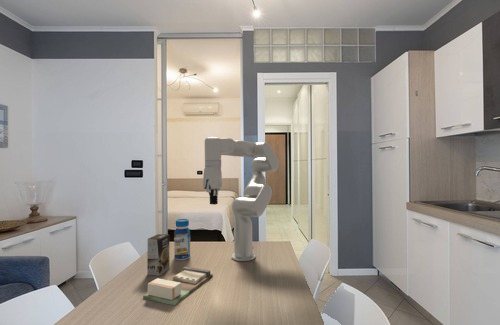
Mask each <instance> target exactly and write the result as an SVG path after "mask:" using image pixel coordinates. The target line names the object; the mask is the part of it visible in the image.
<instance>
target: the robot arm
mask: <svg viewBox="0 0 500 325" xmlns="http://www.w3.org/2000/svg"><path fill="white" fill-rule="evenodd" d="M222 156H230V157H239V158H240V157H242V158H253V159H252V161H251V173H252V177H251V179H250V180H249V181H248V183H247V185H246V186H245V188H244V190H243V195H242V196H240V197H236V198H235V199H234V200H233V201H232V206H231V208H232V210H231V211H232V214H233V226H234V227H233V228H234V229H233V230H234V231H233V234H234V235H233V236H234V237H233V238H234V241H233V243H234V244H233V247H234V251H233V253H232V254H231V259H232V260H233V261H237V262H248V261H249V262H250V261H253V260H254V259H256V253H254V252H253V249H254V248H255V247H254V245H253V222H252V220H251V218H259V217H261V216H262V215H263V214H264V213H265V210H267V207H268V205H269V204H270V201H271V200H272V196H273V189H272V187H271V185H270V184H267V179H266V177H265V176H264V173H273V172H277V171H278V170H279V167H280V161H279V159H278V157H277V155H276V153H275V150H274V149H273V147H272V146H271V144H270V143H268V142H266V141H263V142H252V141H247V140H234V139H232V138H231V137H221V138H220V137H216V136H214V137H213V136H211V137H210V136H209V137H206V138H205V139H204V169H203V176H202V177H203V178H202V179H203V180H202V187H203V189H204V190H205V191H206V193H208V195H209V204H210V205H214V206H215V205H218V201H219V200H218V196H219V192H220V190H221V188H222V187H223V176H222V175H223V174H222Z"/></svg>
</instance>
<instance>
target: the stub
mask: <svg viewBox="0 0 500 325" xmlns="http://www.w3.org/2000/svg"><path fill="white" fill-rule="evenodd" d="M169 280H170V279H163V278H159V277H157V278H155V279H153V280H152V281H150V282H148V283H147V293H148V295H152V296H156V297H161V298H165V299H170V300H173V299H174V298H176V297H177V296H178V295H180V294H181V283H180V282H175V281H169Z"/></svg>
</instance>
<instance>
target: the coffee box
mask: <svg viewBox="0 0 500 325" xmlns="http://www.w3.org/2000/svg"><path fill="white" fill-rule="evenodd" d="M146 254H147V256H146V257H147V260H146V261H147V262H146V263H147V264H146V265H147V266H146V268H147V269H146V270H147V275H148V276H149V275H150V276H158V277H160V276H162V274H164V273H165V272H166V271H168V270H169V269H170V267H171V266H170V261H171V260H170V257H171V256H170V234H167V233H165V234H161V233H160V234H159V233H157V234H156V235H152V236H151V237H149V238H147V253H146Z"/></svg>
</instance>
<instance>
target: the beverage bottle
mask: <svg viewBox="0 0 500 325" xmlns="http://www.w3.org/2000/svg"><path fill="white" fill-rule="evenodd" d="M189 223H190V220H189V218H188V219H187V218H179V219H175V230H174V233H173V234H174V238H173V240H174V241H173V242H174V243H173V244H174V248H173V249H174V259H175V260H176V261H185V260H189V259H190V258H191V229H190V228H189V225H190V224H189Z"/></svg>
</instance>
